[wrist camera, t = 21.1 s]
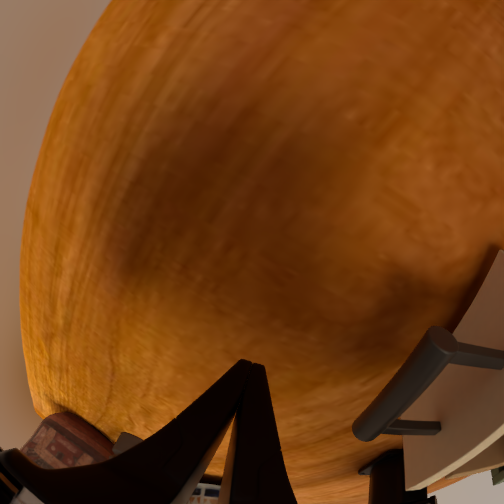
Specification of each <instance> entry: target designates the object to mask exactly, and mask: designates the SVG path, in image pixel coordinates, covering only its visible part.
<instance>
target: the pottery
mask: <svg viewBox="0 0 504 504" xmlns="http://www.w3.org/2000/svg"><path fill="white" fill-rule="evenodd" d="M113 446H114V445H113V444H112V443H111V442H110V441H109V440H108V439H107V438H106V437H105V436H103V435H102V434H101V433H100V432H99V431H97V430H96V429H95V428H94V427H92V426H91V425H89V424H88V423H86V422H85V421H84V420H82V419H81V418H79V417H78V416H76V415H74V414H72V413H69V412H60V413H55V414H52V415H49V416H48V417H46V418H45V419H44V420H43V421H42V422H41V423H40V425H39V426H38V428H37V429H36V430H35V432H34V433H33V435H32V436H31V438H30V439H29V440H28V441H27V442H26V444H25V445H24V446H23V447H22V448H21V449H20V451H21V452H22V453H24V454H25V455H26V456H27V457H29V458H30V459H31V460H33V461H34V462H35V463H36V464H38V465H39V466H40V467H42V468H44V469H59V468H68V467H75V466H82V465H89V464H95V463H99V462H103V461H105V460H108V459H109V456H110V455H114V453H113V451H112V448H113Z"/></svg>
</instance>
